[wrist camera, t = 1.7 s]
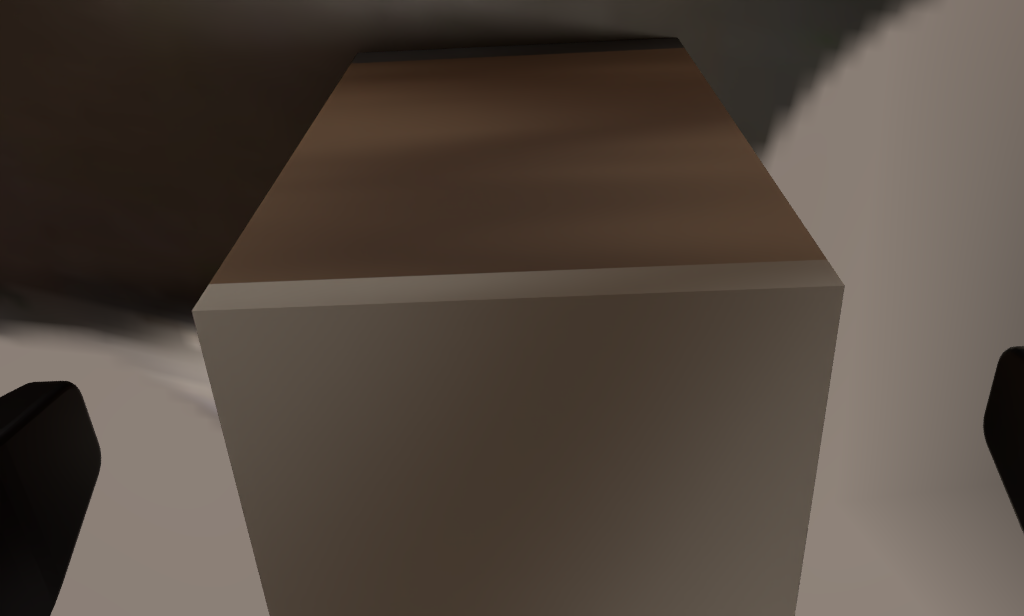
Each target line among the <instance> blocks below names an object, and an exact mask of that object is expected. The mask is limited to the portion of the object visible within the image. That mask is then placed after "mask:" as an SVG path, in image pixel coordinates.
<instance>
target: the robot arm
mask: <svg viewBox="0 0 1024 616" xmlns="http://www.w3.org/2000/svg"><path fill="white" fill-rule="evenodd" d="M983 428H984V435H985V439H986V443H987V446H988V448H989V451H990V453H991V455H992V458H993V460H994V463H995V465H996V468H997V470H998V473H999V475H1000V477H1001V480H1002V482H1003V485H1004V487H1005V490H1006V492H1007V494H1008V497H1009V499H1010V502H1011V504H1012V506H1013V509H1014V511H1015V514H1016V516H1017V519H1018V521H1019V523H1020V526H1021V529H1022V531H1023V533H1024V346H1016V347H1010V348H1009V349H1007V350H1006V351H1005V352H1003V354H1002V355H1001V357H1000V359H999V362H998V364H997V368H996V372H995V376H994V380H993V384H992V387H991V391H990V395H989V399H988V403H987V407H986V410H985V415H984V424H983ZM100 466H101V451H100V446H99V443H98V440H97V437H96V434H95V431H94V428H93V425H92V422H91V420H90V417H89V414H88V411H87V408H86V405H85V402H84V400H83V396H82V394H81V392H80V390H79V389H78V387H76V385H74V384H73V383H71V382H68V381H50V382H49V381H48V382H32V383H28V384H25V385H23V386H21V387H19V388H17V389H15V390H14V391H11V392H9V393H7V394H6V395H4V396H2V397H0V616H50V615H51V612H52V610H53V608H54V605H55V603H56V600H57V597H58V595H59V592H60V589H61V586H62V584H63V581H64V578H65V575H66V572H67V569H68V566H69V563H70V560H71V556H72V553H73V551H74V547H75V544H76V542H77V538H78V536H79V532H80V529H81V526H82V523H83V520H84V517H85V514H86V511H87V508H88V505H89V502H90V499H91V496H92V493H93V490H94V487H95V484H96V481H97V478H98V475H99V471H100Z"/></svg>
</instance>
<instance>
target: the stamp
mask: <svg viewBox="0 0 1024 616" xmlns="http://www.w3.org/2000/svg"><path fill="white" fill-rule="evenodd" d="M843 292H844V284H843V283H842V281H841V280H840V278H839V277H838V275H837V274H836V272H835V271H834V269H833V268H832V266H831V265H830V263H829V262H828V261H827V259H826V257H825V256H824V254H823V253H822V251H821V250H820V248H819V247H818V245H817V244H816V242H815V241H814V239H813V238H812V237H811V235H810V234H809V232H808V231H807V229H806V228H805V227H804V225H803V223H802V222H801V220H800V219H799V218H798V216H797V215H796V213H795V211H794V210H793V209H792V207H791V205H790V204H789V202H788V201H787V199H786V198H785V196H784V195H783V194H782V192H781V191H780V189H779V188H778V186H777V185H776V183H775V182H774V180H773V179H772V177H771V176H770V174H769V173H768V171H767V170H766V168H765V167H764V165H763V164H762V162H761V161H760V159H759V158H758V156H757V155H756V153H755V152H754V150H753V149H752V148H751V146H750V145H749V143H748V142H747V140H746V139H745V137H744V136H743V134H742V133H741V131H740V130H739V128H738V127H737V125H736V124H735V122H734V121H733V119H732V118H731V116H730V115H729V113H728V112H727V110H726V109H725V107H724V106H723V105H722V103H721V102H720V100H719V99H718V97H717V96H716V94H715V93H714V91H713V90H712V88H711V87H710V85H709V84H708V82H707V81H706V79H705V78H704V76H703V75H702V73H701V72H700V70H699V69H698V67H697V66H696V64H695V63H694V62H693V60H692V59H691V57H690V56H689V54H688V53H687V51H686V50H685V48H684V47H683V45H682V44H681V42H680V41H679V39H678V38H663V39H642V40H620V41H599V42H578V43H557V44H536V45H514V46H493V47H472V48H451V49H430V50H409V51H387V52H366V53H357V55H356V56H355V58H354V60H353V61H352V63H351V64H350V66H349V67H348V69H347V70H346V72H345V74H344V75H343V77H342V78H341V80H340V81H339V83H338V84H337V86H336V88H335V89H334V91H333V92H332V94H331V95H330V97H329V98H328V100H327V101H326V103H325V105H324V106H323V108H322V109H321V111H320V112H319V114H318V115H317V117H316V119H315V120H314V122H313V123H312V125H311V126H310V128H309V129H308V131H307V133H306V134H305V136H304V137H303V139H302V140H301V142H300V143H299V145H298V147H297V148H296V150H295V151H294V153H293V154H292V156H291V157H290V159H289V161H288V162H287V164H286V165H285V167H284V168H283V170H282V171H281V173H280V175H279V176H278V178H277V179H276V181H275V182H274V184H273V185H272V187H271V189H270V190H269V192H268V193H267V195H266V196H265V198H264V199H263V201H262V203H261V204H260V206H259V207H258V209H257V210H256V212H255V213H254V215H253V217H252V218H251V220H250V221H249V223H248V224H247V226H246V227H245V229H244V230H243V232H242V234H241V235H240V237H239V238H238V240H237V241H236V243H235V244H234V246H233V248H232V249H231V251H230V252H229V254H228V255H227V257H226V258H225V260H224V262H223V263H222V265H221V266H220V268H219V269H218V271H217V272H216V274H215V276H214V277H213V279H212V280H211V282H210V283H209V285H208V286H207V288H206V290H205V291H204V293H203V294H202V296H201V297H200V299H199V300H198V302H197V304H196V305H195V307H194V308H193V310H192V314H193V318H194V322H195V326H196V330H197V334H198V338H199V342H200V345H201V349H202V353H203V357H204V361H205V365H206V369H207V373H208V377H209V381H210V384H211V388H212V392H213V396H214V400H215V404H216V408H217V412H218V416H219V420H220V423H221V427H222V431H223V435H224V439H225V443H226V447H227V451H228V454H229V458H230V462H231V466H232V470H233V474H234V478H235V482H236V486H237V490H238V493H239V497H240V501H241V505H242V509H243V513H244V517H245V521H246V525H247V529H248V533H249V536H250V540H251V544H252V548H253V552H254V556H255V560H256V564H257V568H258V572H259V575H260V579H261V583H262V587H263V591H264V595H265V599H266V603H267V607H268V611H269V614H270V616H795V610H796V603H797V597H798V590H799V584H800V577H801V570H802V564H803V557H804V550H805V544H806V538H807V531H808V524H809V517H810V511H811V504H812V498H813V491H814V485H815V478H816V471H817V464H818V458H819V451H820V445H821V438H822V432H823V425H824V419H825V412H826V405H827V399H828V392H829V386H830V379H831V372H832V366H833V359H834V352H835V346H836V339H837V333H838V326H839V319H840V313H841V306H842V300H843Z"/></svg>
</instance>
